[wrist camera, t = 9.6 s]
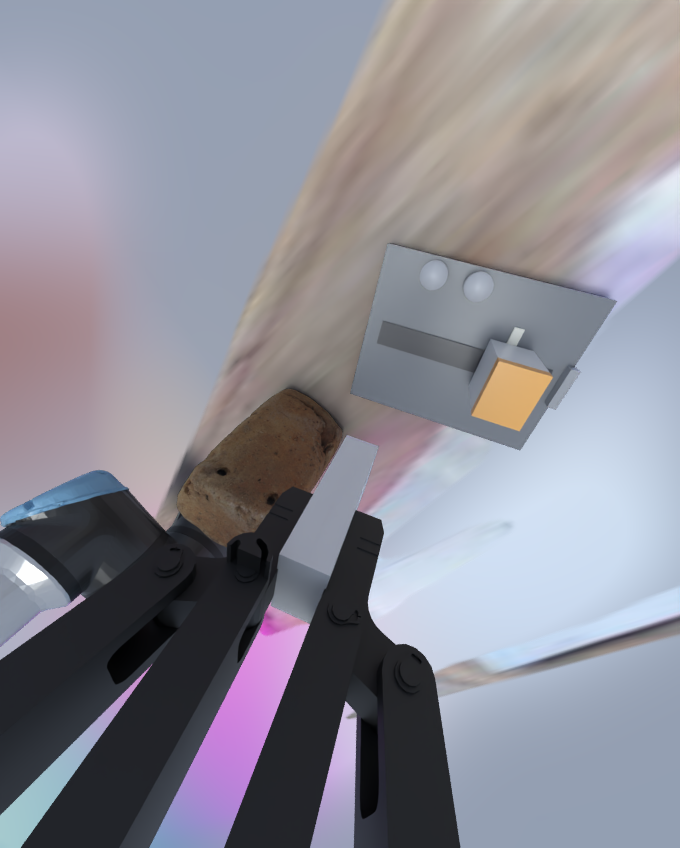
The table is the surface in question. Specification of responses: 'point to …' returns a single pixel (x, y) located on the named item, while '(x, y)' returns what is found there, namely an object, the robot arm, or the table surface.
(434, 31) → the table surface
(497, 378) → the fader tab
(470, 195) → the table surface
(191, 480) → the brown rounded upright piece
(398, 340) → the console board
